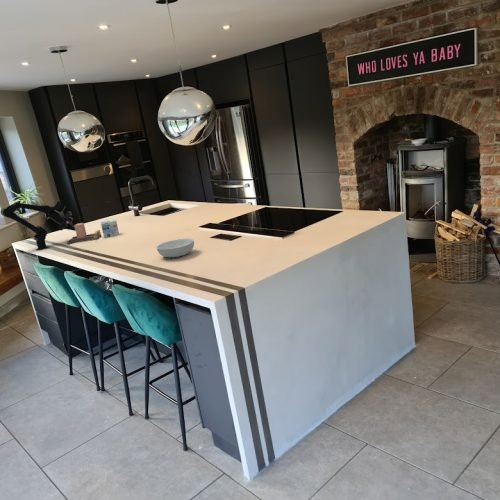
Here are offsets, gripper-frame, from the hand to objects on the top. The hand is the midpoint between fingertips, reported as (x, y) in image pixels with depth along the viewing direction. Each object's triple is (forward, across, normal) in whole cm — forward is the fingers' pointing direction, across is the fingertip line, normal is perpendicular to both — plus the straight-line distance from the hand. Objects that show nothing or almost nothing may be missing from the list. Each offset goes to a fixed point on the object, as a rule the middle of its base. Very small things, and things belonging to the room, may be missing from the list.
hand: (76, 230), depth 338 cm
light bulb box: (+22, 0, -11) cm, 25 cm away
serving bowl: (+61, -81, -49) cm, 113 cm away
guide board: (+8, 0, +2) cm, 9 cm away
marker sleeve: (+6, 0, +2) cm, 7 cm away
